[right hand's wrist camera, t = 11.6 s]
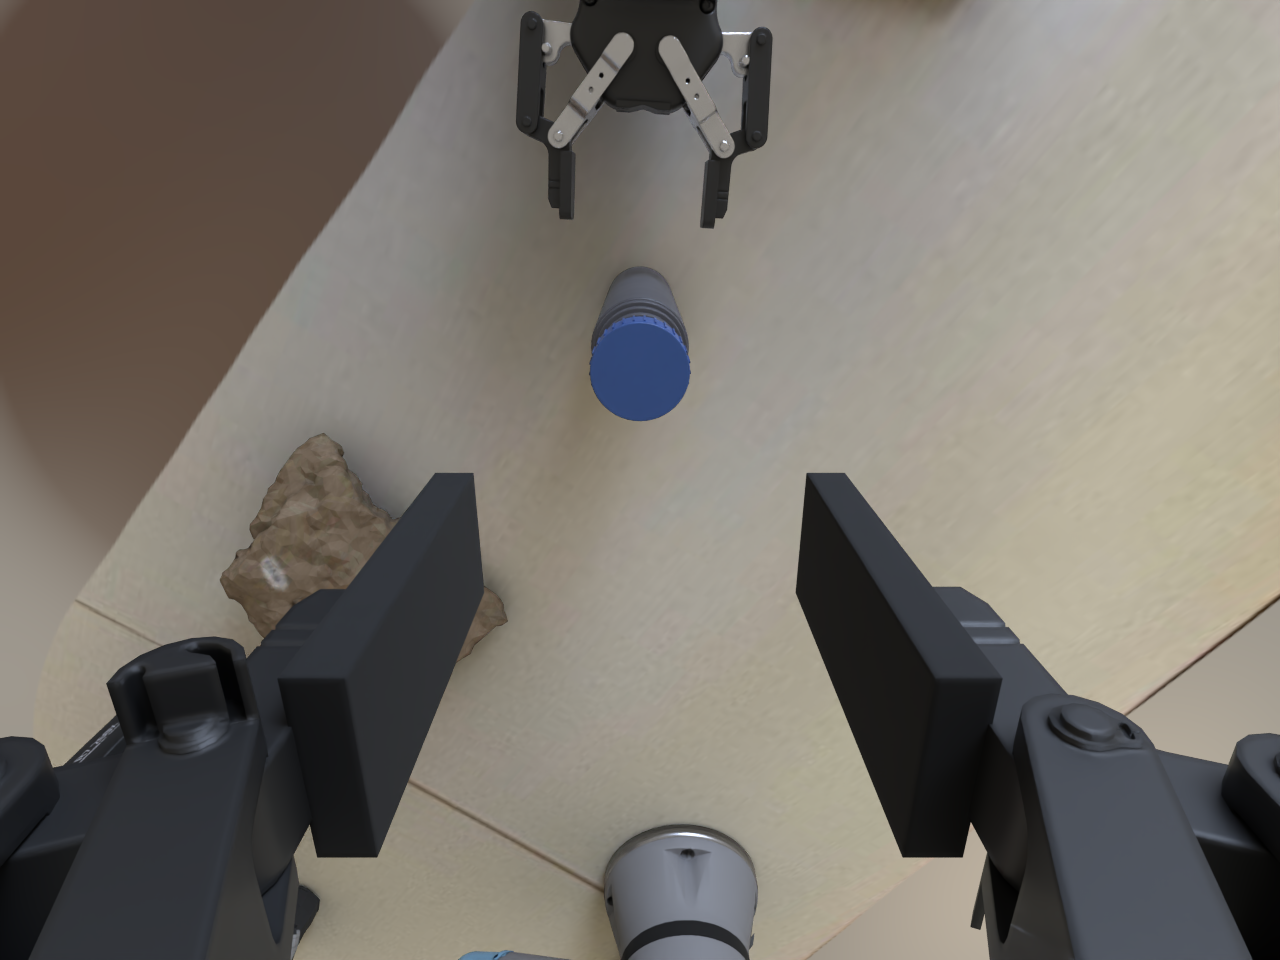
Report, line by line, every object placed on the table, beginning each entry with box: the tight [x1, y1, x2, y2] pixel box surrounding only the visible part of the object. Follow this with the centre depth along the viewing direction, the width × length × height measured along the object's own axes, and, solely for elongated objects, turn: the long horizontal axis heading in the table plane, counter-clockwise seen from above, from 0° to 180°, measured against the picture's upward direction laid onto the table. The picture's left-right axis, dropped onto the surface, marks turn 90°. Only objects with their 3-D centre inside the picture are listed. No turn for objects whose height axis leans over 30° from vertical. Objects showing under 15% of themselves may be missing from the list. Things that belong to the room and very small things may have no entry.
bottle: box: [591, 267, 689, 357], centre depth 40 cm, size 5×5×24 cm
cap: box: [589, 315, 691, 421], centre depth 29 cm, size 4×4×2 cm
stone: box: [220, 433, 507, 662], centre depth 56 cm, size 21×15×6 cm
